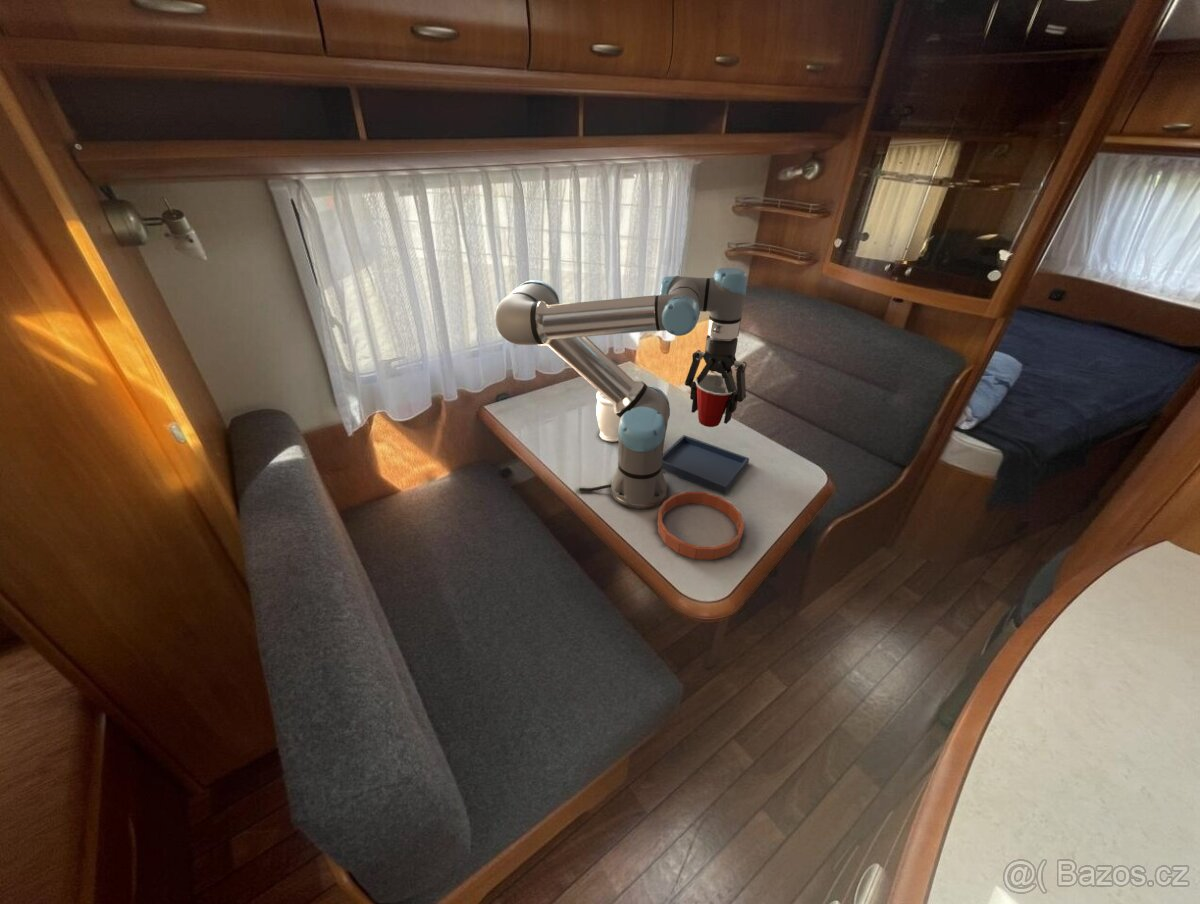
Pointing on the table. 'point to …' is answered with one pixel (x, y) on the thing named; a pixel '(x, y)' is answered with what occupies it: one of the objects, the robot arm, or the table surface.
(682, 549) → the ring
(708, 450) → the tray
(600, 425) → the jar
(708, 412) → the plastic cup
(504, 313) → the robot arm
